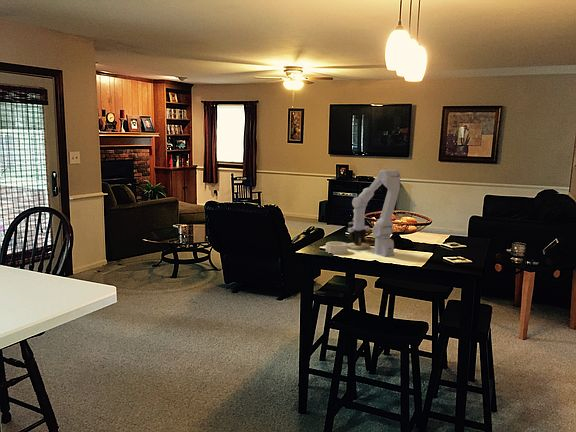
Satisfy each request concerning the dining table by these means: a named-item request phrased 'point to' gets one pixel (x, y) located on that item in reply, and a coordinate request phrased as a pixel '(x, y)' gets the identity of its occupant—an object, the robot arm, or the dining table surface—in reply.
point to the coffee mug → (350, 227)
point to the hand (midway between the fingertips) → (358, 243)
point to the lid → (358, 245)
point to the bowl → (336, 247)
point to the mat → (361, 249)
